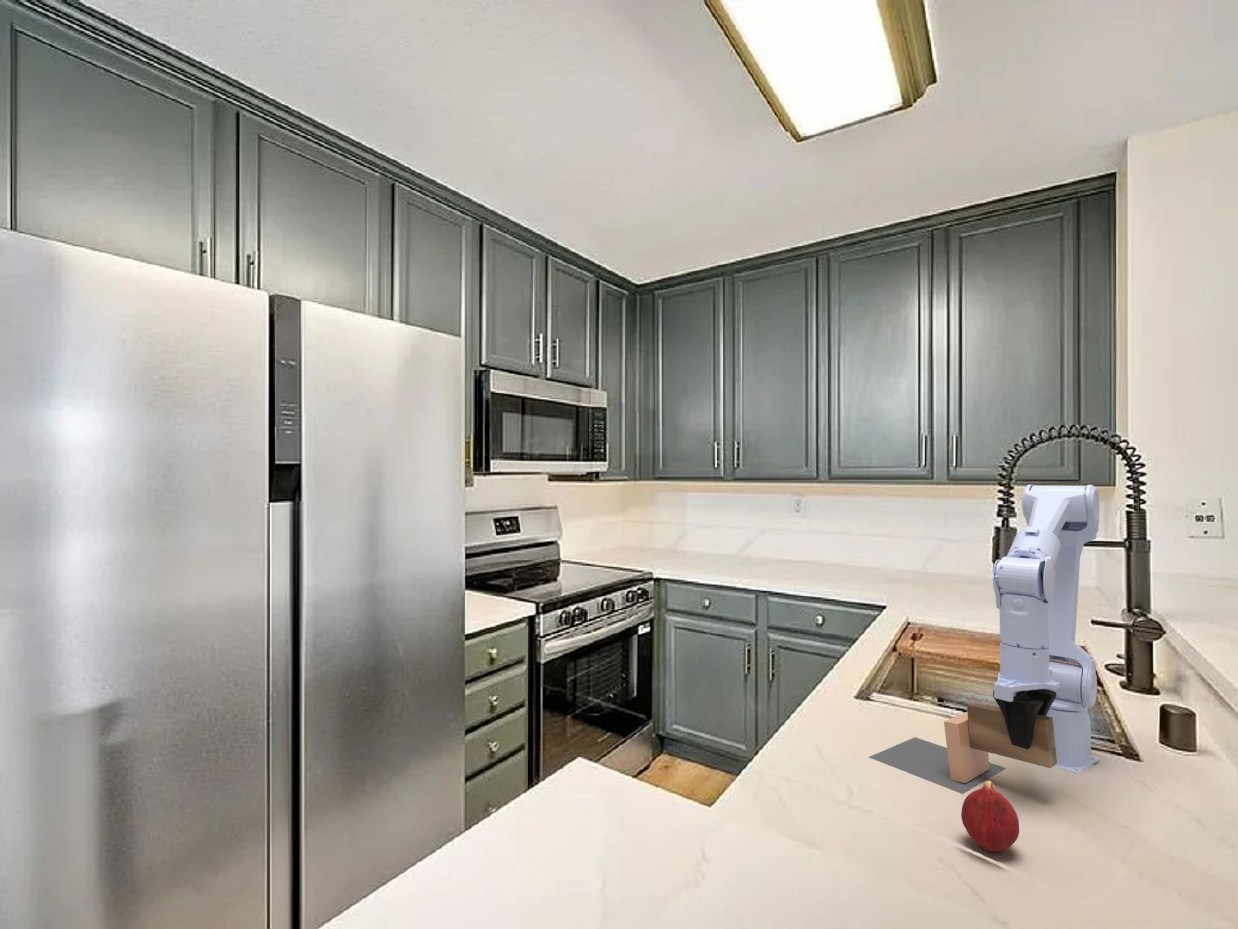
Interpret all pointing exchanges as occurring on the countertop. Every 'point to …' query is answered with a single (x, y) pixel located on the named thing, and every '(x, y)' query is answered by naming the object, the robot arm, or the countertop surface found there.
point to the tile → (963, 751)
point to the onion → (990, 819)
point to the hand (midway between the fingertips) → (1025, 743)
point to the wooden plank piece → (994, 737)
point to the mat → (929, 763)
